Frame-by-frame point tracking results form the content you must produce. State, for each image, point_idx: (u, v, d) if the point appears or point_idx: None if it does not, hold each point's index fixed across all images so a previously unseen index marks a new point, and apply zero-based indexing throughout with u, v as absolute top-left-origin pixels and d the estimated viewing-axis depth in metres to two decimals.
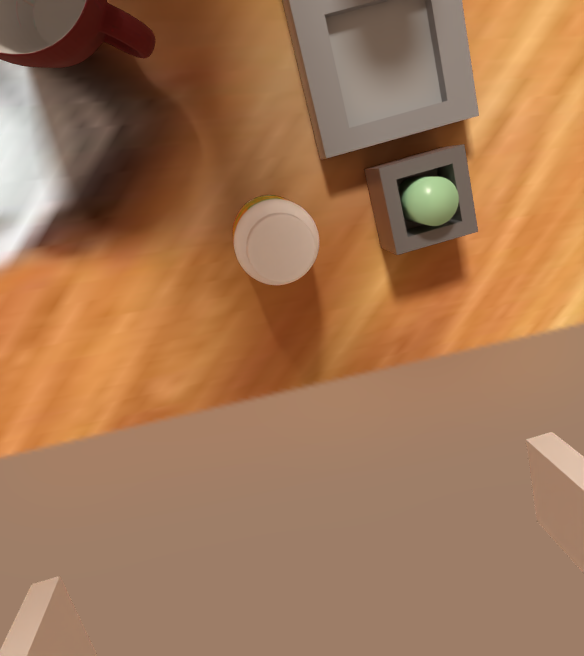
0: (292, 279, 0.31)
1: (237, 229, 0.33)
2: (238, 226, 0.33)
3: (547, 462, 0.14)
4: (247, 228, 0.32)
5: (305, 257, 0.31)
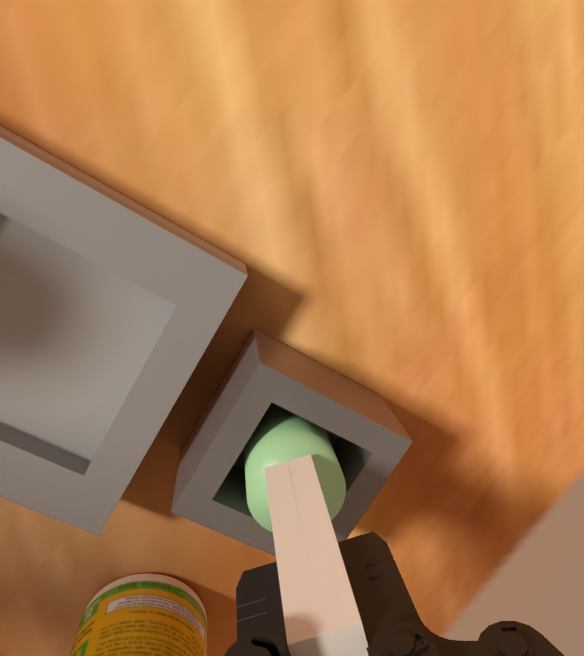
0: None
1: None
2: None
3: (292, 482, 0.16)
4: None
5: None
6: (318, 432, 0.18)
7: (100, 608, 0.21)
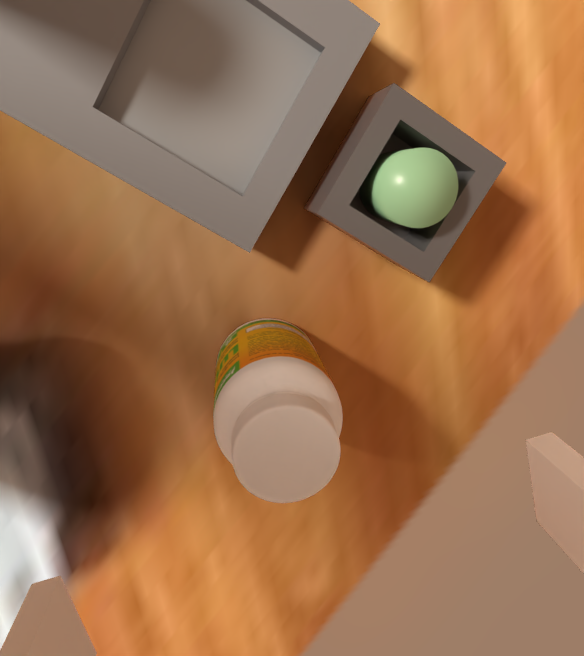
0: (332, 474, 0.20)
1: (221, 450, 0.22)
2: (219, 446, 0.22)
3: (546, 463, 0.14)
4: (230, 446, 0.21)
5: (323, 439, 0.19)
6: None
7: (239, 333, 0.26)
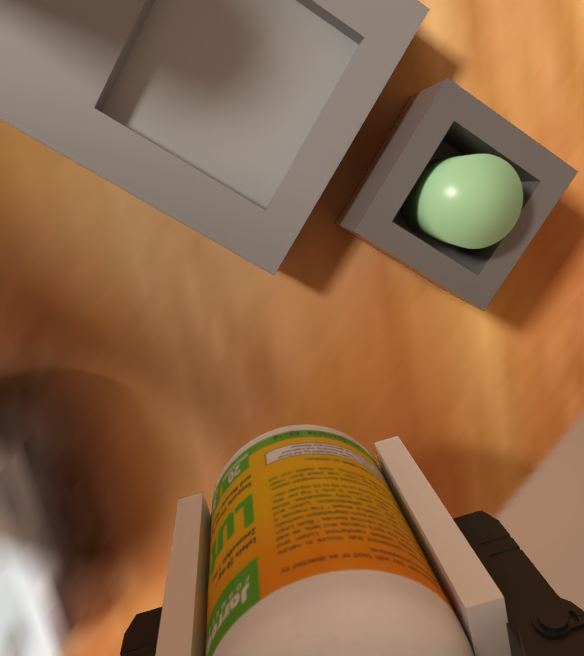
0: None
1: None
2: None
3: (384, 463, 0.15)
4: None
5: None
6: None
7: (254, 461, 0.15)
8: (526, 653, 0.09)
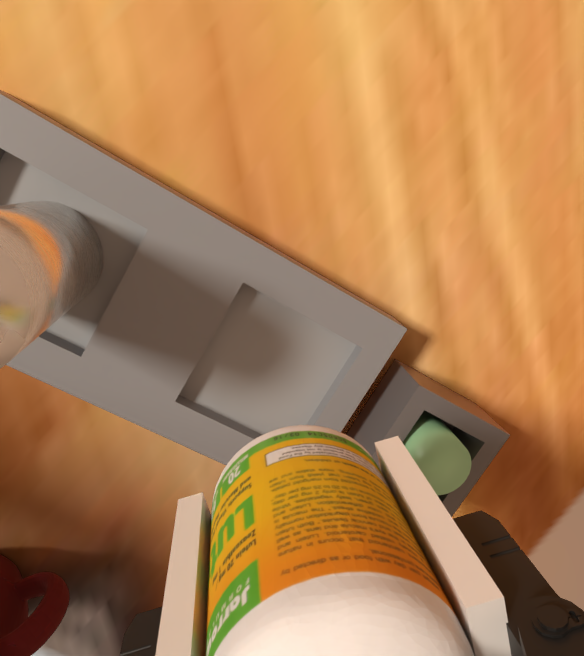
0: None
1: None
2: None
3: (384, 463, 0.15)
4: None
5: None
6: (448, 429, 0.28)
7: (254, 462, 0.14)
8: (526, 653, 0.09)
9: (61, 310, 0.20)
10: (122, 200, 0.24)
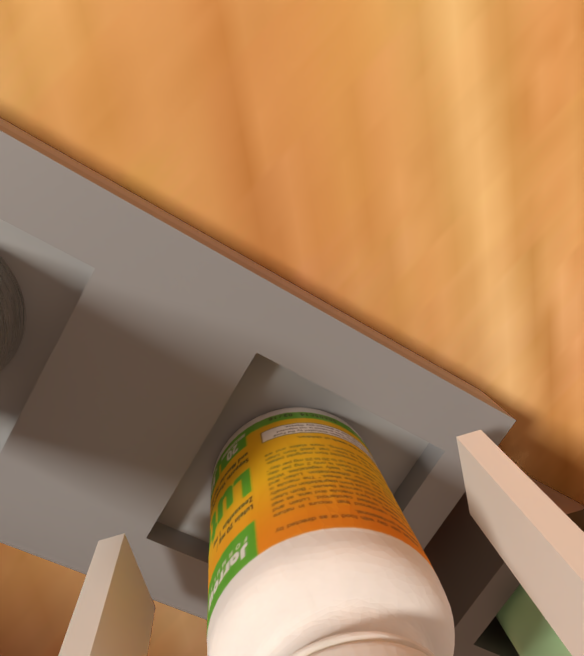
0: None
1: None
2: None
3: (471, 458, 0.15)
4: None
5: None
6: None
7: (250, 440, 0.16)
8: None
9: None
10: (49, 219, 0.14)
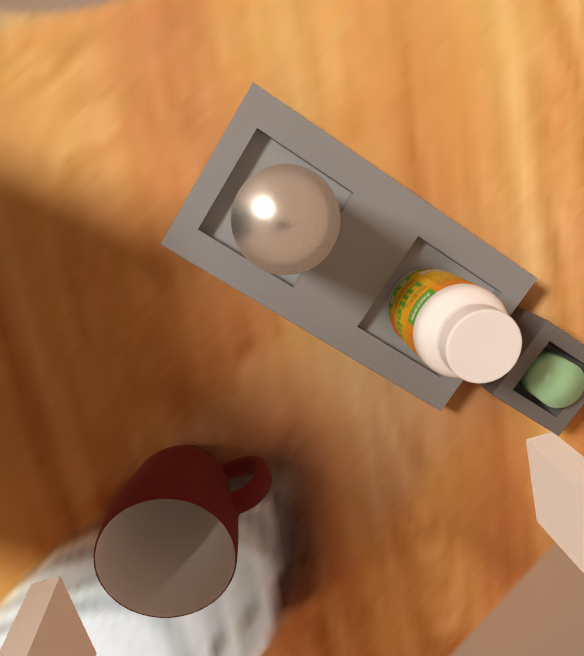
0: (514, 362, 0.27)
1: (420, 351, 0.30)
2: (419, 348, 0.30)
3: (547, 463, 0.14)
4: (430, 346, 0.29)
5: (510, 336, 0.27)
6: None
7: (413, 276, 0.34)
8: None
9: None
10: (338, 170, 0.33)
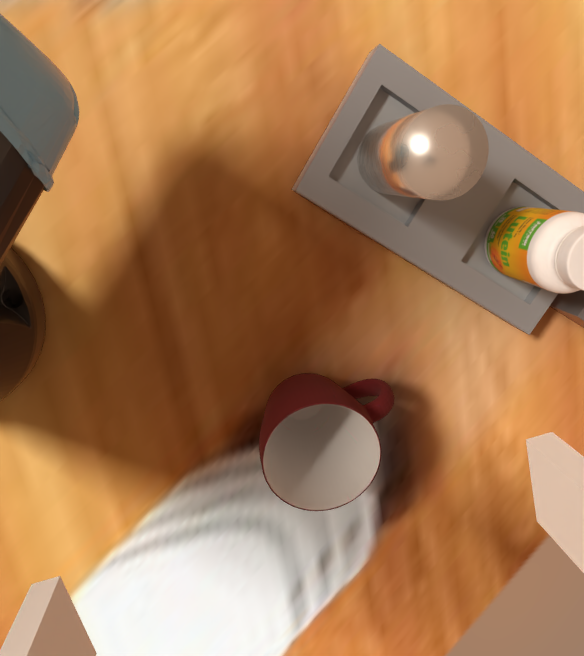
0: None
1: (535, 271, 0.35)
2: (534, 268, 0.35)
3: (546, 463, 0.14)
4: (545, 265, 0.34)
5: None
6: None
7: (511, 213, 0.39)
8: None
9: None
10: None
